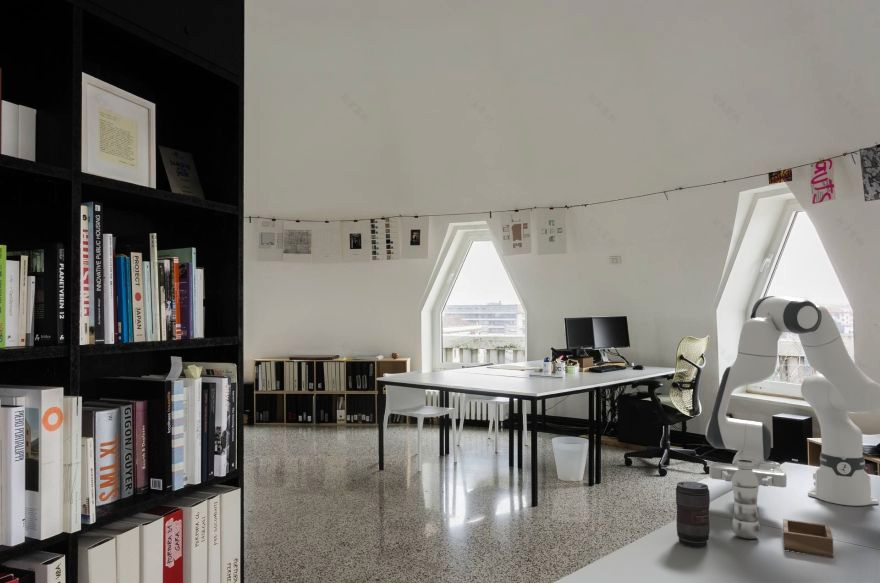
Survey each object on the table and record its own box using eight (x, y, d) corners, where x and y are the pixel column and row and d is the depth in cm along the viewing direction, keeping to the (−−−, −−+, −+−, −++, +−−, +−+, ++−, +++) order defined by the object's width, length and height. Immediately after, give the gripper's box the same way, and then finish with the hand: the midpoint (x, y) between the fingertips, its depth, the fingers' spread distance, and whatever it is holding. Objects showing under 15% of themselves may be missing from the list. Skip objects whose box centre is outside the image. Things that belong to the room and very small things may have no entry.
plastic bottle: (763, 542, 166) (762, 464, 166) (735, 540, 167) (734, 463, 168) (756, 534, 172) (755, 458, 173) (729, 532, 174) (728, 457, 174)
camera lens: (710, 540, 168) (710, 482, 168) (709, 551, 160) (709, 490, 160) (677, 535, 171) (677, 479, 171) (675, 546, 163) (674, 486, 164)
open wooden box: (783, 535, 171) (783, 518, 171) (829, 542, 166) (829, 525, 166) (784, 550, 161) (783, 532, 161) (833, 558, 156) (832, 539, 156)
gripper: (710, 455, 198) (706, 464, 186) (785, 463, 189) (786, 474, 176) (710, 476, 198) (706, 486, 185) (785, 485, 188) (786, 497, 176)
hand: (746, 480), depth 181 cm, fingers open, 8 cm apart
